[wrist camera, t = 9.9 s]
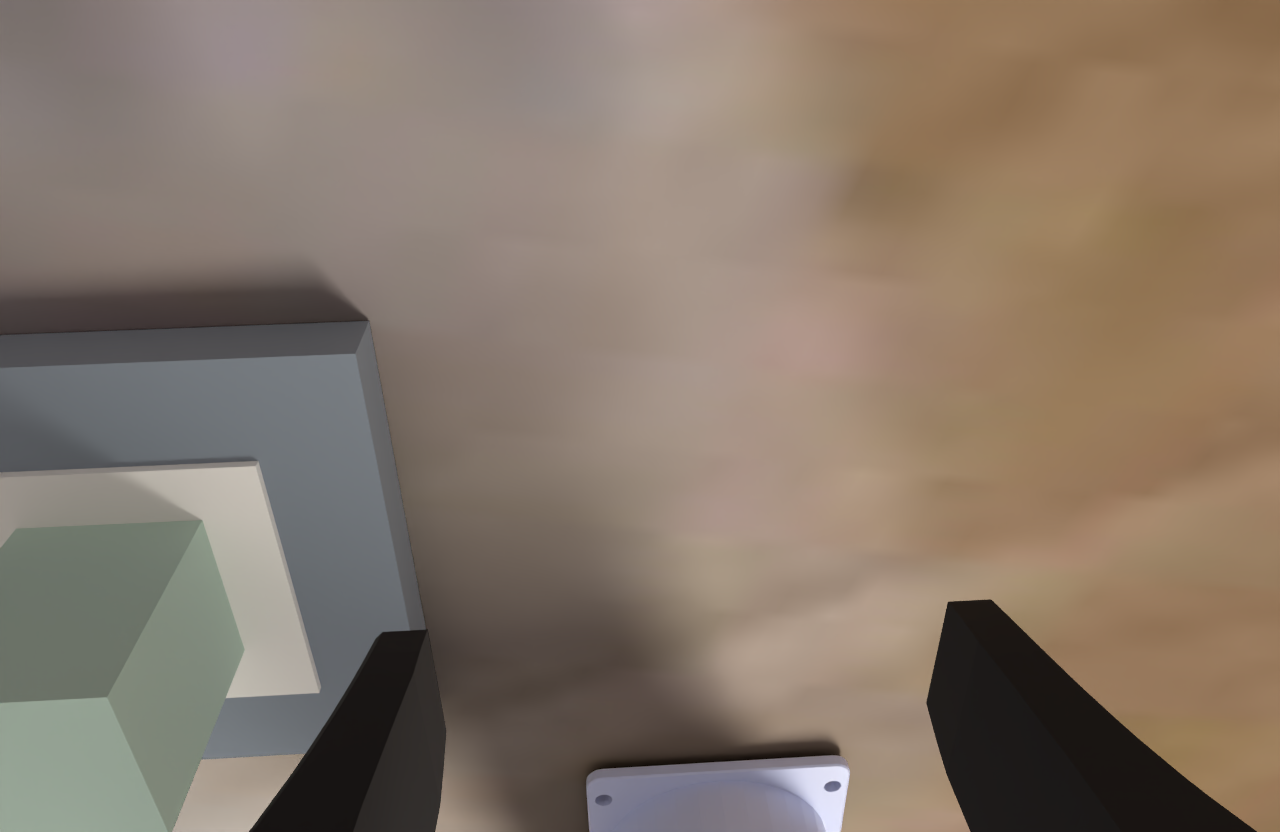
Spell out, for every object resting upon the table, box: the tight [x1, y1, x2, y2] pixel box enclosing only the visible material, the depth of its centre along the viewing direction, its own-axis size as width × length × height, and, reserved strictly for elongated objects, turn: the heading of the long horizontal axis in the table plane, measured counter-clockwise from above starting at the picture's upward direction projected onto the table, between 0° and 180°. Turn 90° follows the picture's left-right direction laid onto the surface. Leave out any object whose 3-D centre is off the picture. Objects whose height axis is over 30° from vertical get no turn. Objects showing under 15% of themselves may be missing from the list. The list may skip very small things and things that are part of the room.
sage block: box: [0, 520, 245, 832], centre depth 20 cm, size 4×4×5 cm
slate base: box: [0, 321, 426, 759], centre depth 23 cm, size 12×12×2 cm
